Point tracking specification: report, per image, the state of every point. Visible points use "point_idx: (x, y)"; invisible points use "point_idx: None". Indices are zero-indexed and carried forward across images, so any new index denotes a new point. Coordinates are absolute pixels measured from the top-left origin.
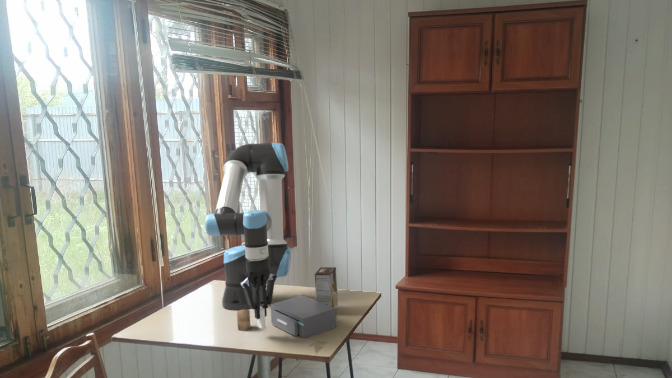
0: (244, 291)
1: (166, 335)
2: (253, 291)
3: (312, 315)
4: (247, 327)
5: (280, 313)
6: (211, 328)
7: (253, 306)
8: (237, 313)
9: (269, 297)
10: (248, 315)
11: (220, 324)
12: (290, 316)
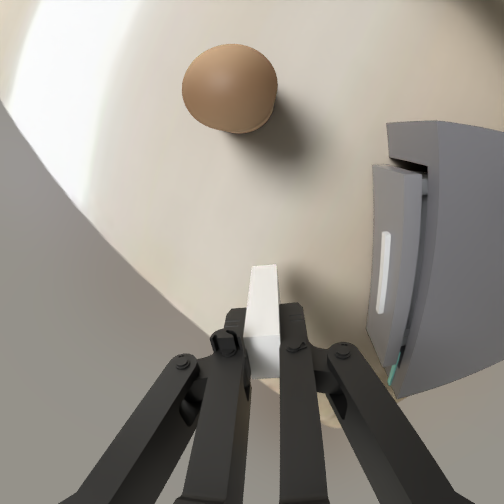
0: (98, 476)
1: (10, 56)
2: (193, 481)
3: (438, 385)
4: (245, 132)
5: (416, 244)
6: (118, 34)
7: (194, 405)
8: (182, 92)
9: (344, 424)
10: (254, 124)
11: (165, 6)
12: (412, 322)
